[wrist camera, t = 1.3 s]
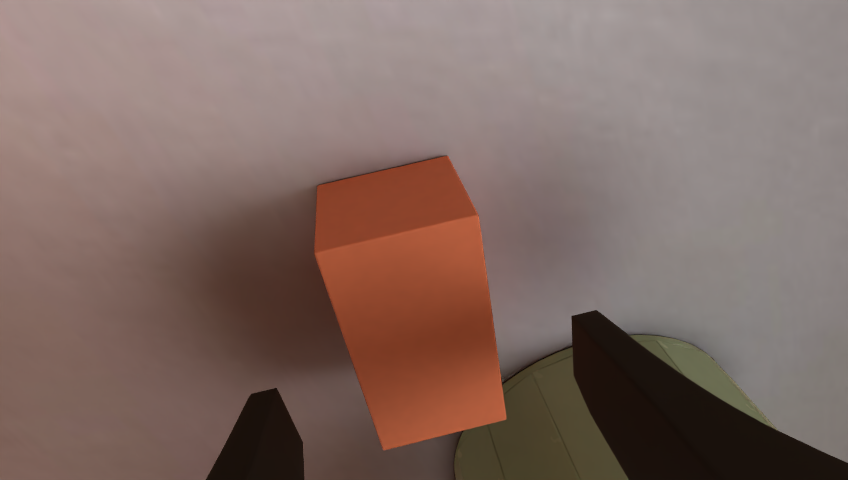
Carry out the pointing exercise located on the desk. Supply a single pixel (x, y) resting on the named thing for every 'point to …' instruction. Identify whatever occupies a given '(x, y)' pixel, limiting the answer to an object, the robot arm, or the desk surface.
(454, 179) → the orange square prism
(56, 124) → the desk surface
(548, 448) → the pot
